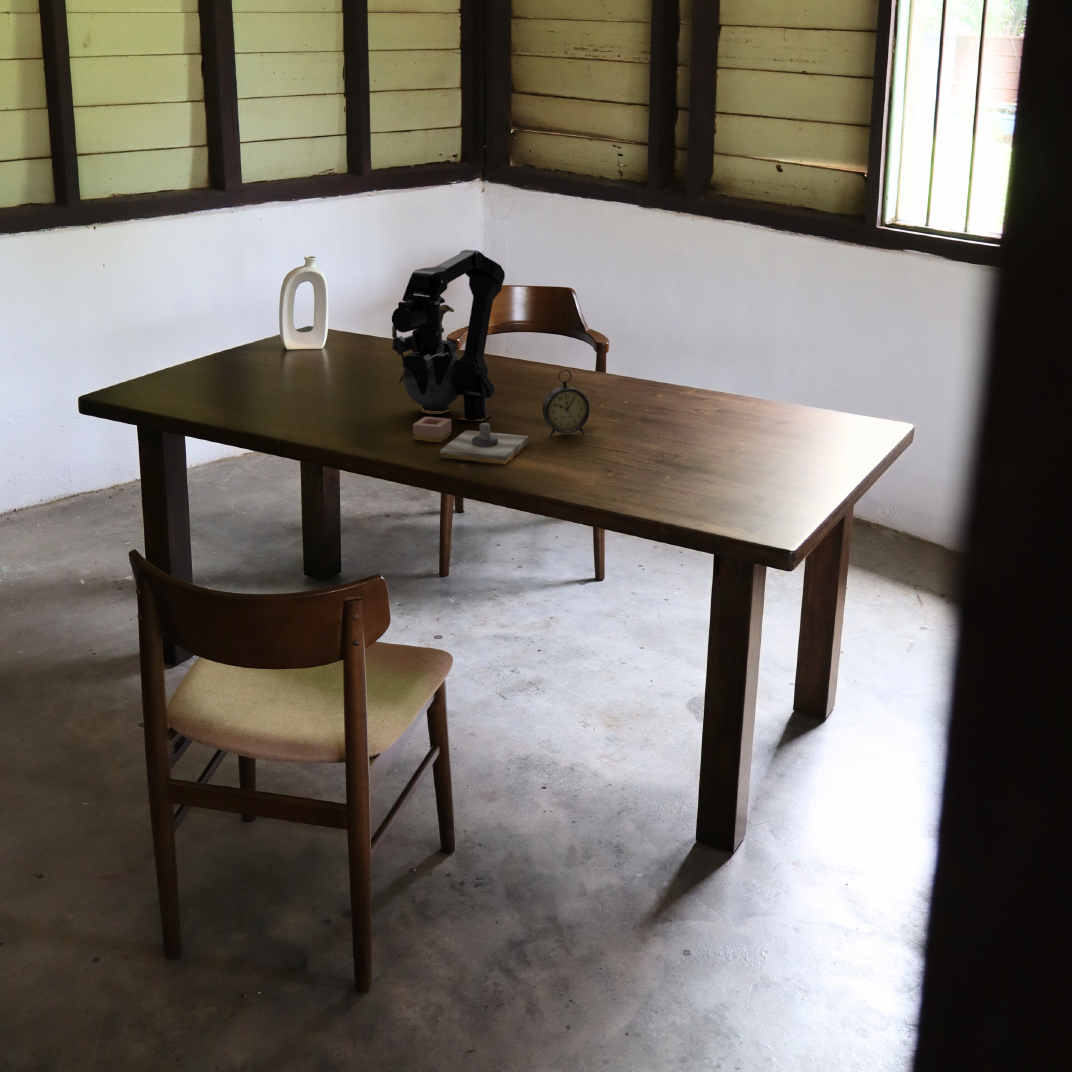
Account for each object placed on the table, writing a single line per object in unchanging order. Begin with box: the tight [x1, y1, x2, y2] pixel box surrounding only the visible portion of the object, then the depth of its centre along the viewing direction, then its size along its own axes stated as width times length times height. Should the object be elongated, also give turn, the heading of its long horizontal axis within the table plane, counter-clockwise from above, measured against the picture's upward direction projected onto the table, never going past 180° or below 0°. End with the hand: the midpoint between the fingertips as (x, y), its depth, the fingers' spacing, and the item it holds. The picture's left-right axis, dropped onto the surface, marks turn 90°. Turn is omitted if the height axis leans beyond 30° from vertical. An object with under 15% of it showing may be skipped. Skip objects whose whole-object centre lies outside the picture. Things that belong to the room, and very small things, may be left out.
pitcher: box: [391, 304, 461, 411], centre depth 303 cm, size 11×19×30 cm, turn 70°
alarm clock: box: [541, 369, 591, 437], centre depth 286 cm, size 11×5×16 cm, turn 105°
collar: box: [412, 416, 453, 438], centre depth 287 cm, size 7×7×4 cm
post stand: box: [439, 422, 530, 461], centre depth 276 cm, size 16×16×6 cm
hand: (430, 389), depth 283 cm, fingers open, 9 cm apart
